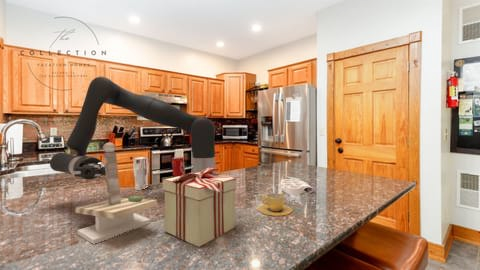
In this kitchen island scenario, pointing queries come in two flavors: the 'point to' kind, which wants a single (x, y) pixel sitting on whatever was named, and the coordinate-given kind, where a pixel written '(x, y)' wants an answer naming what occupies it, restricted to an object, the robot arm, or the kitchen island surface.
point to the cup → (274, 204)
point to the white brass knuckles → (294, 186)
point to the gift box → (199, 206)
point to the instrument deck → (115, 208)
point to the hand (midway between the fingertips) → (109, 172)
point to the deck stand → (112, 227)
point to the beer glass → (140, 172)
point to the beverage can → (178, 166)
